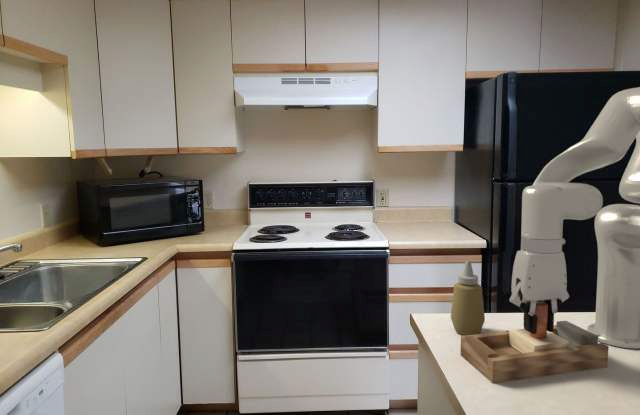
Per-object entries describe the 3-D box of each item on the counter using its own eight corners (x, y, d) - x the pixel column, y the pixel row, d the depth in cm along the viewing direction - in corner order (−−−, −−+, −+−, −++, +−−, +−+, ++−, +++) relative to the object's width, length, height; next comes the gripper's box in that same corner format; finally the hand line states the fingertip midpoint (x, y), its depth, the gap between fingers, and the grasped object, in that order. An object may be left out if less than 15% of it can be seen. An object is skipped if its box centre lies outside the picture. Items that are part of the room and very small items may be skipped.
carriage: (541, 340, 95) (542, 296, 94) (568, 356, 87) (570, 308, 86) (509, 344, 93) (510, 299, 92) (533, 361, 86) (535, 312, 84)
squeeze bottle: (487, 339, 101) (488, 266, 99) (452, 337, 103) (452, 265, 101) (481, 326, 109) (482, 257, 107) (449, 324, 111) (449, 257, 109)
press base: (563, 342, 98) (564, 317, 98) (607, 366, 87) (608, 338, 86) (460, 355, 94) (460, 329, 93) (492, 383, 82) (493, 353, 81)
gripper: (562, 239, 93) (559, 320, 95) (494, 244, 90) (492, 327, 92) (590, 246, 85) (586, 333, 88) (517, 251, 82) (514, 342, 85)
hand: (538, 329), depth 90 cm, fingers closed on carriage, 3 cm apart
